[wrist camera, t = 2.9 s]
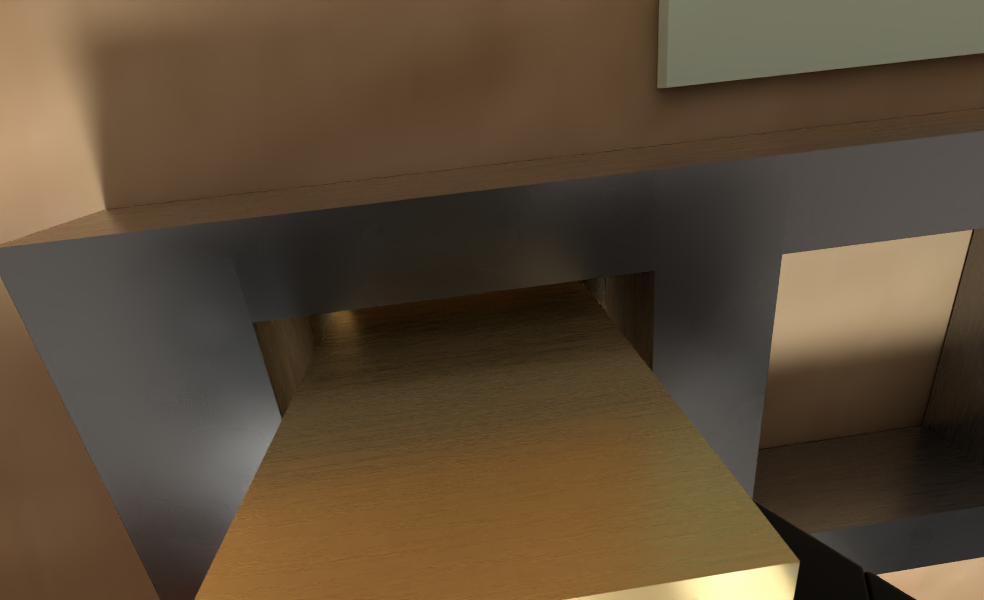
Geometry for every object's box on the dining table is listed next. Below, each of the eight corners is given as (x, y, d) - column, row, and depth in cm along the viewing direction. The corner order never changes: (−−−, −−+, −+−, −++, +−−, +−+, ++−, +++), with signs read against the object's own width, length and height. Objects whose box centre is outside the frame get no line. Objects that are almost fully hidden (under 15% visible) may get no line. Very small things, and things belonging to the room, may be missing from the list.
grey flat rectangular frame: (1151, 88, 10) (1364, 85, 8) (1017, 456, 13) (1138, 530, 11) (103, 209, 9) (-14, 248, 7) (247, 576, 12) (203, 686, 10)
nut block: (571, 268, 10) (801, 561, 4) (579, 452, 12) (745, 871, 5) (341, 297, 10) (162, 664, 4) (384, 480, 12) (315, 955, 5)
